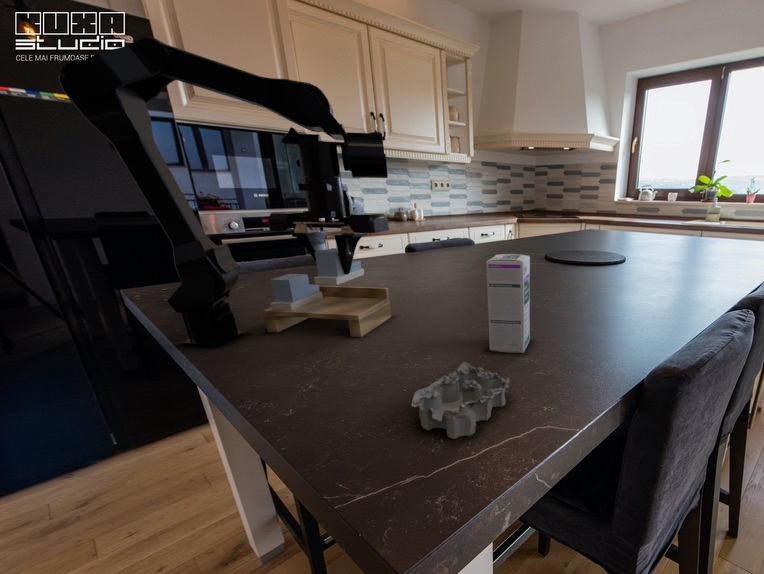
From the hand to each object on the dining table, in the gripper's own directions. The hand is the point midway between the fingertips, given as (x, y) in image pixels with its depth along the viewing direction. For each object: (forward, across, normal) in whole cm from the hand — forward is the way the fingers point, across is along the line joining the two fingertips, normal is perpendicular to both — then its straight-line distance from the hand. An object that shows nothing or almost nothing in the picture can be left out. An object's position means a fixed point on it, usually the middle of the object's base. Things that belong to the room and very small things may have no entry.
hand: (336, 273), depth 69 cm
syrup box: (+10, -31, +4) cm, 33 cm away
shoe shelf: (+10, +4, -2) cm, 11 cm away
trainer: (+1, 0, 0) cm, 1 cm away
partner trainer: (+6, +10, -1) cm, 12 cm away
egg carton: (+10, -30, +25) cm, 40 cm away
